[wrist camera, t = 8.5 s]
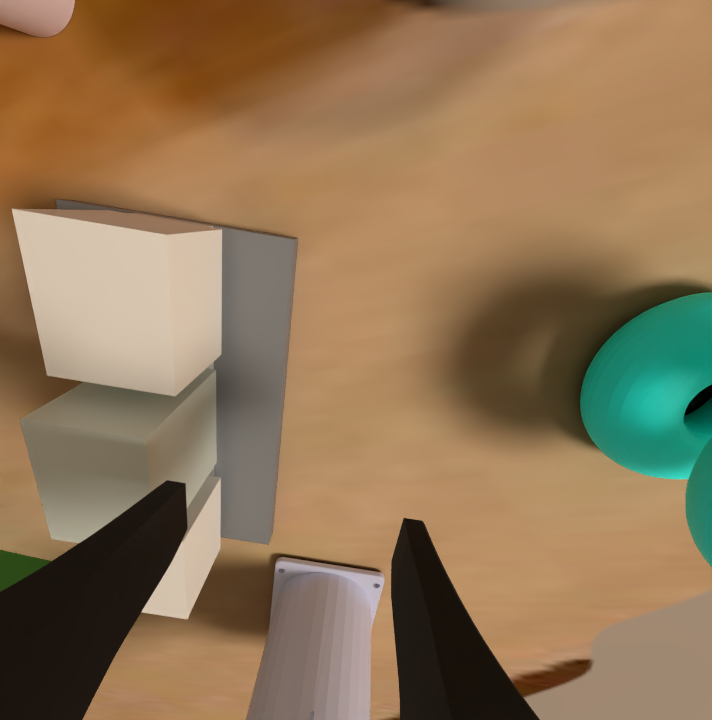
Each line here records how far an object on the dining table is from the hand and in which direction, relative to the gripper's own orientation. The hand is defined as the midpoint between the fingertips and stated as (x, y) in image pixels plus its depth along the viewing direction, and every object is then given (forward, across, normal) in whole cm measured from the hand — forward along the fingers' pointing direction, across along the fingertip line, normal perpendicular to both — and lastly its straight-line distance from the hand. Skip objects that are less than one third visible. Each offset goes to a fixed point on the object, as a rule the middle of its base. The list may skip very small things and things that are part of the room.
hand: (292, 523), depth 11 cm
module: (+8, +8, +2) cm, 11 cm away
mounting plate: (+9, +8, +2) cm, 13 cm away
